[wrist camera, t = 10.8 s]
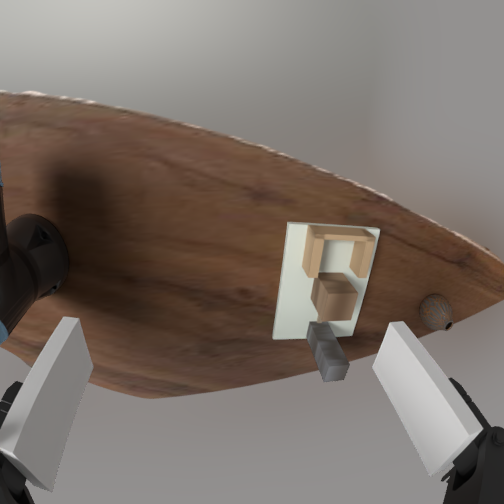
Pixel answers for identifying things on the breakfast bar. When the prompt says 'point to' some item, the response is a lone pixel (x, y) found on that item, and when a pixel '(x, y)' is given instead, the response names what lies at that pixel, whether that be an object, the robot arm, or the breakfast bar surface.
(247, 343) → the breakfast bar surface
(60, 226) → the breakfast bar surface
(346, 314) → the tether block
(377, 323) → the breakfast bar surface
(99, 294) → the breakfast bar surface
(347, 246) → the white board with bracket
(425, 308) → the vase
